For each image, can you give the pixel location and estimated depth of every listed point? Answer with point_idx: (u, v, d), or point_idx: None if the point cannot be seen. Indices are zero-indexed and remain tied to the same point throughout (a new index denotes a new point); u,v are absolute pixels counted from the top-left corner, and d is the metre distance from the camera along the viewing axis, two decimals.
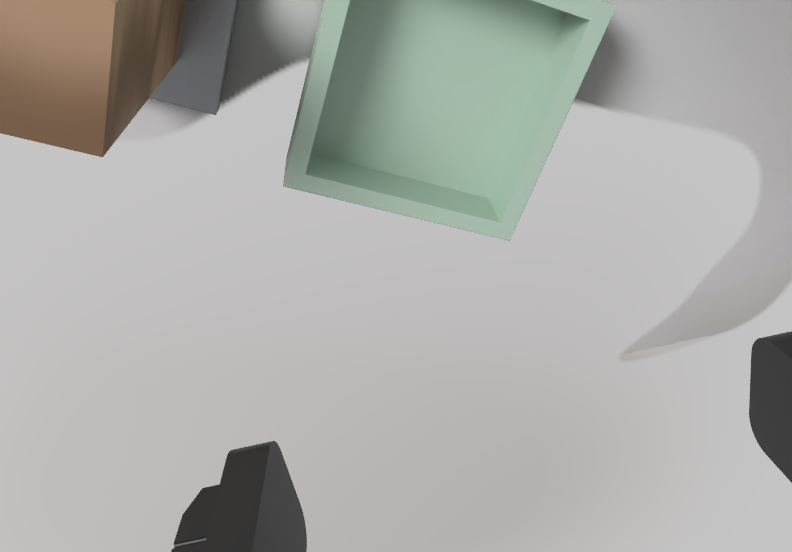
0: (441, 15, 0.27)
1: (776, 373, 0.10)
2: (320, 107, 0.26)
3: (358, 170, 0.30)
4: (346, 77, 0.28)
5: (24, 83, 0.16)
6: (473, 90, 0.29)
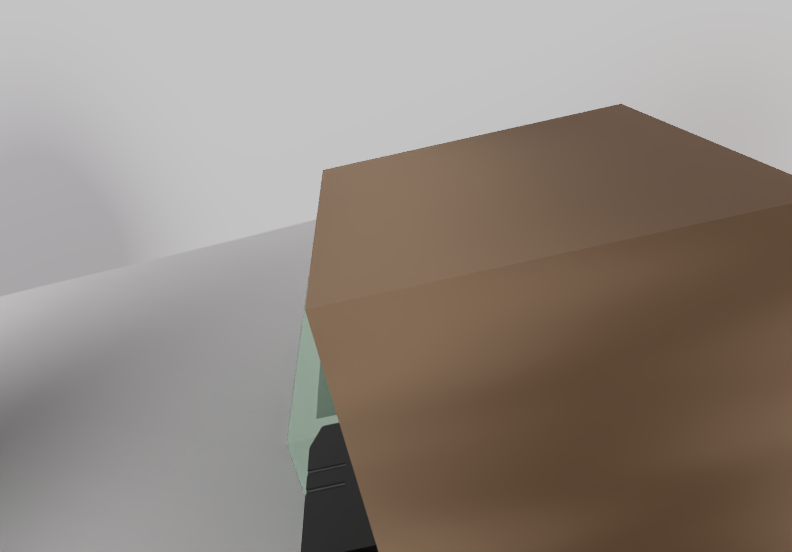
0: None
1: None
2: None
3: None
4: None
5: (555, 165, 0.07)
6: None
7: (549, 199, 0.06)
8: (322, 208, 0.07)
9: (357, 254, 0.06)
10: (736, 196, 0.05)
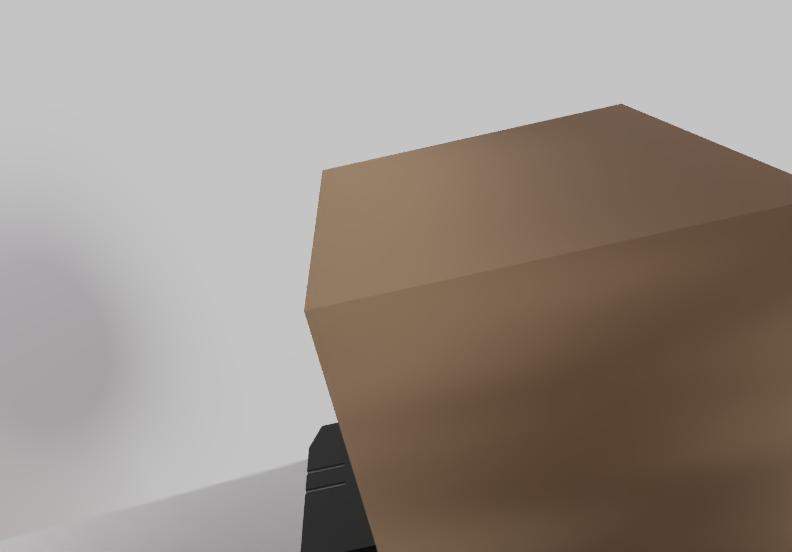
0: None
1: None
2: None
3: None
4: None
5: (555, 166, 0.07)
6: None
7: (549, 200, 0.06)
8: (322, 208, 0.07)
9: (357, 256, 0.06)
10: (737, 197, 0.05)
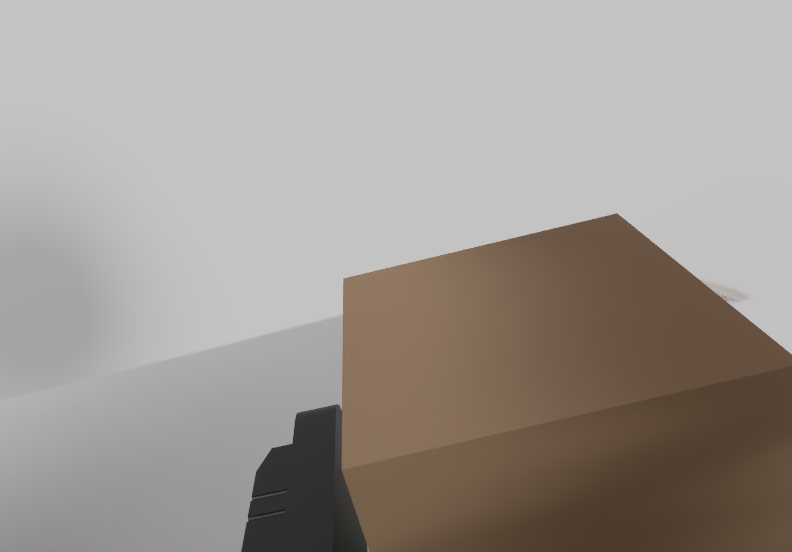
0: None
1: None
2: None
3: None
4: None
5: (558, 296, 0.08)
6: None
7: (553, 344, 0.07)
8: (347, 333, 0.08)
9: (383, 402, 0.06)
10: (716, 358, 0.06)
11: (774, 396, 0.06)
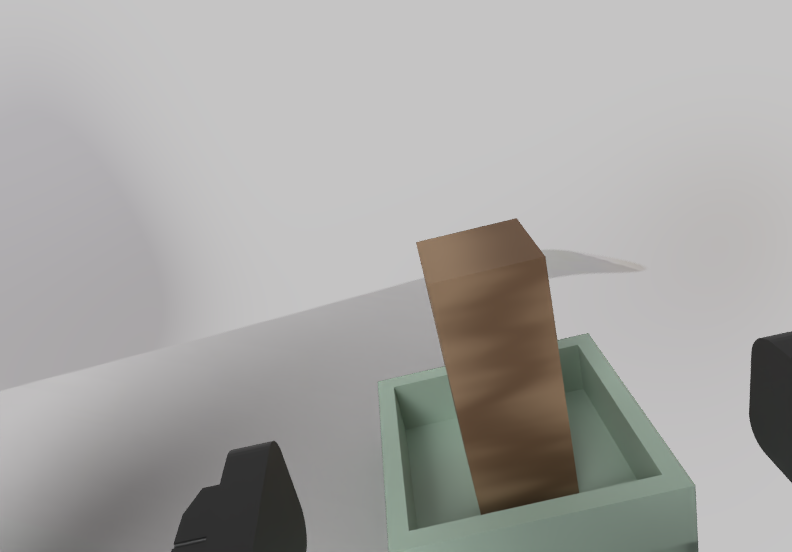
0: (455, 494, 0.28)
1: (776, 373, 0.10)
2: (579, 494, 0.23)
3: (637, 470, 0.26)
4: None
5: (489, 244, 0.24)
6: None
7: (484, 256, 0.23)
8: (421, 257, 0.24)
9: (436, 272, 0.23)
10: (526, 256, 0.22)
11: (539, 265, 0.22)
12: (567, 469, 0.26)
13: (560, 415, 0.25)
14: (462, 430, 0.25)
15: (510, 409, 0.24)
